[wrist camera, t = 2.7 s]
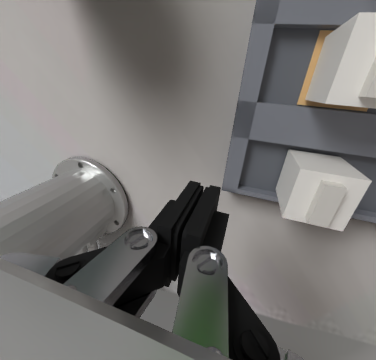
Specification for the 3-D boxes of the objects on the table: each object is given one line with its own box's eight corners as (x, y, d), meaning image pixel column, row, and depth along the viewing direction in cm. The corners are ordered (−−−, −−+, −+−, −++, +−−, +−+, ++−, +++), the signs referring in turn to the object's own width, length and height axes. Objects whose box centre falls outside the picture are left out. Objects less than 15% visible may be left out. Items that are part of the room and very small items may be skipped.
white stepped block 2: (321, 198, 18) (347, 239, 13) (275, 188, 18) (283, 224, 14) (340, 157, 16) (379, 186, 11) (288, 149, 17) (303, 173, 12)
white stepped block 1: (364, 105, 14) (423, 113, 9) (304, 99, 15) (329, 104, 10) (395, 38, 12) (490, 4, 7) (325, 36, 13) (368, 5, 8)
